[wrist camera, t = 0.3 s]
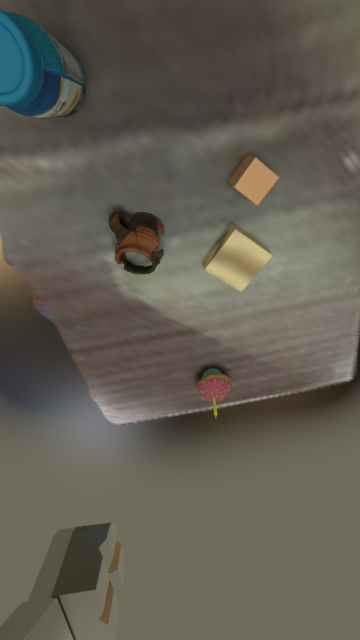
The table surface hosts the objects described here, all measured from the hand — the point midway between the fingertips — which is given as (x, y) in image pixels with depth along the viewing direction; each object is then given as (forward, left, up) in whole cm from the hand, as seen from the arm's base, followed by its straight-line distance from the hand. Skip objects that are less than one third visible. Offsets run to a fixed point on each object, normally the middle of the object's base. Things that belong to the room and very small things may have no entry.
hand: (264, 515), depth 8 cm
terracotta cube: (-8, +10, -51) cm, 52 cm away
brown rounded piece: (+11, -1, -51) cm, 52 cm away
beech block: (+4, +17, -51) cm, 54 cm away
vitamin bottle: (-2, -21, -51) cm, 55 cm away
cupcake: (+32, +33, -51) cm, 69 cm away
